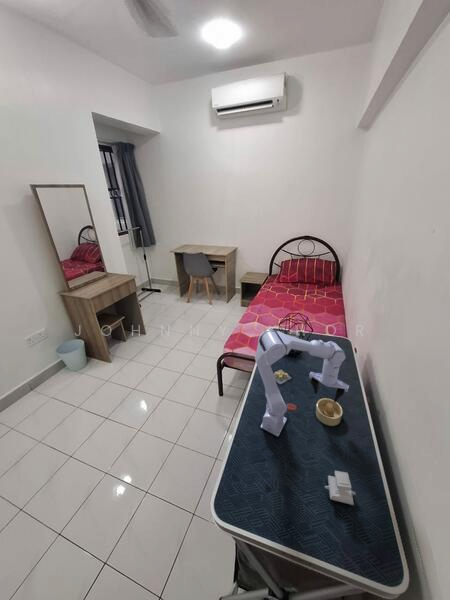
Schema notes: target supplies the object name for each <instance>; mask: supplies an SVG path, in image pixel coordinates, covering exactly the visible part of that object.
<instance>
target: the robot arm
mask: <svg viewBox="0 0 450 600" xmlns="http://www.w3.org/2000/svg"><path fill="white" fill-rule="evenodd" d="M291 350H295V351H302V352H308V354H309V355H310V356H312V357H316V358H321V359H323V362H322V363H323V364H322V370H321V373H320V372H314V371H310V373H309V374H308V379H311V380H310V384H311V386H312V388H313V390H314V394H315V395H317V394H318V391H319V384H320V383H321V384H322V385H323V386H325V387H328V388H336V392H335V397H334V399H333V400H334V402H337V401H338V400H339V398H341V397H342V396H343V395H344V394H345V393H348V392H349V387H350V385H349V384H347V383H346V382H343V381H341V380H340V379H339V378H338V376H339V371H340V367H341V366H342V363H343V362H344V361H345V359H346V358H347V356H346V353H345V351H344V349H342V348H341V347H340V346H339V345H338V344H337V343H336V342H335V341H332V340H330V341H327V342H325V341H323V340H321V339H318V340H316V339H313V340H310V341H308V340H304V339H301V338H298V337H296V336H292V335H289V334H286V333H284V332H282V331H279V330H274V329H266V330H264V331H263V332H262V333H261V335H260V336H259V337H258V338H257V347H256V350H255V354H254V360H255V363H256V366H257V369H258V372H259V375H260V378H261V380H262V383H263V387H264V389H265V392H264V397H265V399H266V405H265V413H264V414H263V417H262V422H261V425H260V428H261V429H263V430H265V431H267V432H268V433H270V434H272V435H274V436H276V437H279V436H280V434H281V432H282V430H283V428H284V426H285V424H286V422H287V419H288V418H287V417H285V414H286V413H287V411H288V406H287V404H286V403H285V401H284V398H283V396H282V393H281V390H280V389H279V387H278V383H277V381H276V380H275V378H274V375H273V373H274V372H273V369H272V365H273V364H274V363H276V362H278V361H279V360H280V359H282V358H283V357H284V356H287V355H289V353H290V352H291Z"/></svg>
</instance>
